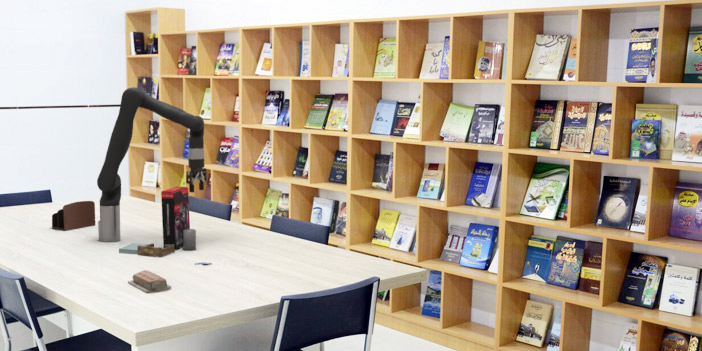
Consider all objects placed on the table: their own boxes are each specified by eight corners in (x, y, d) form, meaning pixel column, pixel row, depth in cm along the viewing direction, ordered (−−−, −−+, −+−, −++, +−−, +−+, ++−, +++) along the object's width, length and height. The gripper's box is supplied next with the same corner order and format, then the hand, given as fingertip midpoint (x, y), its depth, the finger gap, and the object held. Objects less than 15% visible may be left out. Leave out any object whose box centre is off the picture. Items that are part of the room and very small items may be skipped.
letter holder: (95, 225, 405) (95, 199, 403) (64, 231, 388) (63, 204, 386) (83, 223, 410) (82, 197, 408) (51, 229, 393) (50, 202, 391)
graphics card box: (175, 250, 348) (174, 191, 345) (161, 249, 349) (160, 190, 346) (190, 243, 365) (189, 186, 361) (177, 242, 366) (176, 186, 363)
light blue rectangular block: (119, 254, 341) (118, 248, 341) (132, 248, 354) (132, 243, 354) (137, 255, 340) (137, 250, 339) (150, 249, 352) (150, 244, 352)
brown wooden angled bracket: (137, 254, 338) (137, 246, 338) (152, 249, 349) (151, 241, 348) (160, 257, 334) (160, 248, 334) (174, 252, 345) (174, 243, 344)
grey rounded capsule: (181, 250, 349) (180, 230, 348) (187, 247, 355) (187, 228, 354) (191, 251, 348) (191, 231, 347) (198, 248, 353) (198, 229, 352)
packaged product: (172, 277, 283) (146, 281, 277) (172, 290, 283) (146, 294, 277) (151, 268, 297) (127, 271, 291) (152, 280, 297) (127, 284, 291)
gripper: (197, 156, 373) (198, 188, 375) (181, 158, 360) (181, 192, 362) (211, 156, 371) (211, 189, 373) (194, 159, 357) (195, 193, 359)
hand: (196, 191), depth 367 cm, fingers open, 8 cm apart
